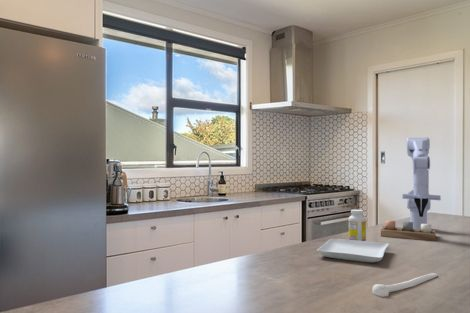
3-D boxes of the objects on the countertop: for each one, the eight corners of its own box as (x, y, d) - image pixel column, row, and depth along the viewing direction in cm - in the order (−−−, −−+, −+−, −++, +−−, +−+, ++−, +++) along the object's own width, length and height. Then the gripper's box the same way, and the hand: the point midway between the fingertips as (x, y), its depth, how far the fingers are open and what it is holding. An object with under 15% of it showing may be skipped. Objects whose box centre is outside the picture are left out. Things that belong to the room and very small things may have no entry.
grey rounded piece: (403, 229, 166) (403, 221, 166) (413, 229, 165) (413, 221, 165) (402, 230, 163) (402, 222, 163) (412, 231, 161) (412, 223, 161)
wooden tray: (383, 231, 173) (383, 226, 173) (434, 235, 164) (434, 230, 164) (380, 236, 163) (380, 230, 163) (435, 241, 154) (435, 234, 154)
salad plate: (315, 259, 128) (315, 249, 128) (330, 246, 147) (330, 237, 147) (382, 267, 118) (382, 257, 118) (389, 252, 137) (389, 243, 137)
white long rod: (426, 274, 112) (426, 264, 112) (440, 278, 109) (440, 268, 109) (368, 294, 96) (368, 283, 96) (383, 299, 93) (383, 287, 93)
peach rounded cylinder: (386, 227, 170) (386, 219, 170) (395, 228, 168) (395, 220, 168) (385, 229, 166) (385, 221, 166) (395, 230, 164) (395, 222, 164)
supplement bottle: (363, 240, 155) (363, 209, 155) (367, 244, 149) (367, 211, 149) (347, 240, 156) (347, 208, 156) (350, 243, 149) (350, 211, 149)
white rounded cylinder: (420, 231, 163) (420, 223, 163) (431, 232, 162) (431, 224, 162) (420, 233, 160) (420, 224, 160) (431, 234, 158) (431, 225, 158)
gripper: (402, 184, 161) (402, 216, 161) (441, 185, 155) (440, 219, 155) (402, 183, 167) (402, 214, 167) (440, 184, 161) (439, 216, 161)
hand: (421, 216), depth 161 cm, fingers closed
